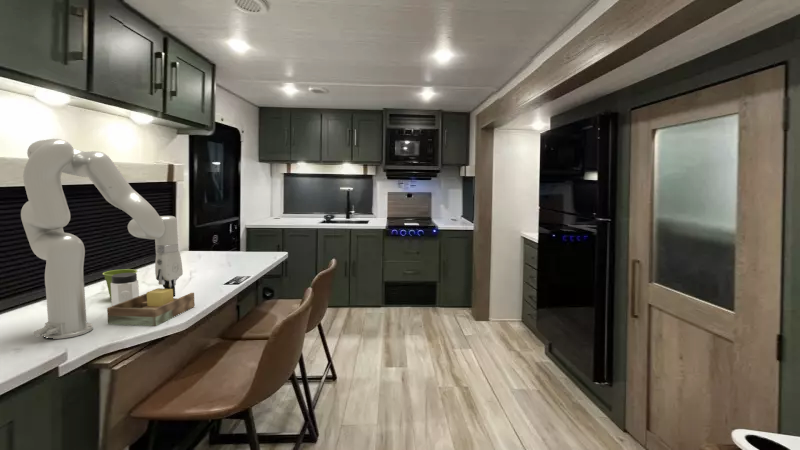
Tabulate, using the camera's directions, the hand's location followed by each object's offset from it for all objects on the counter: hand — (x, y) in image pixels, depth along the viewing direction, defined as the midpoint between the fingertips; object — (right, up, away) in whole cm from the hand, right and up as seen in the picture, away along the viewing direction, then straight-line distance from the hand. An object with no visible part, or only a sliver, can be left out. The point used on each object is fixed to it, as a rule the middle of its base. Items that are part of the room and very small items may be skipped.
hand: (170, 296), depth 163 cm
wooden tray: (-1, -5, -9) cm, 10 cm away
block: (-1, -2, -5) cm, 6 cm away
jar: (-19, -4, +3) cm, 19 cm away
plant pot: (-26, -3, +12) cm, 28 cm away
